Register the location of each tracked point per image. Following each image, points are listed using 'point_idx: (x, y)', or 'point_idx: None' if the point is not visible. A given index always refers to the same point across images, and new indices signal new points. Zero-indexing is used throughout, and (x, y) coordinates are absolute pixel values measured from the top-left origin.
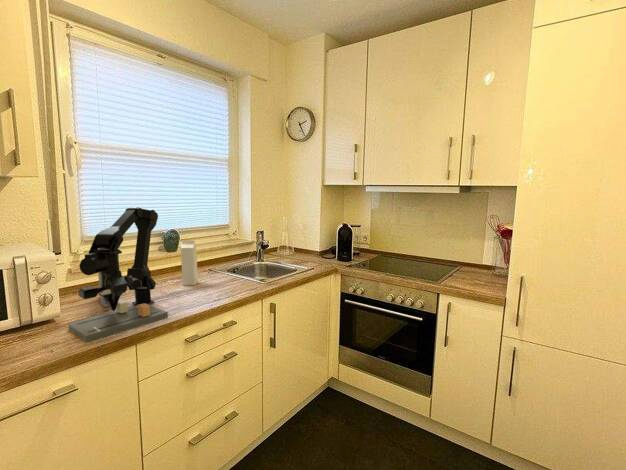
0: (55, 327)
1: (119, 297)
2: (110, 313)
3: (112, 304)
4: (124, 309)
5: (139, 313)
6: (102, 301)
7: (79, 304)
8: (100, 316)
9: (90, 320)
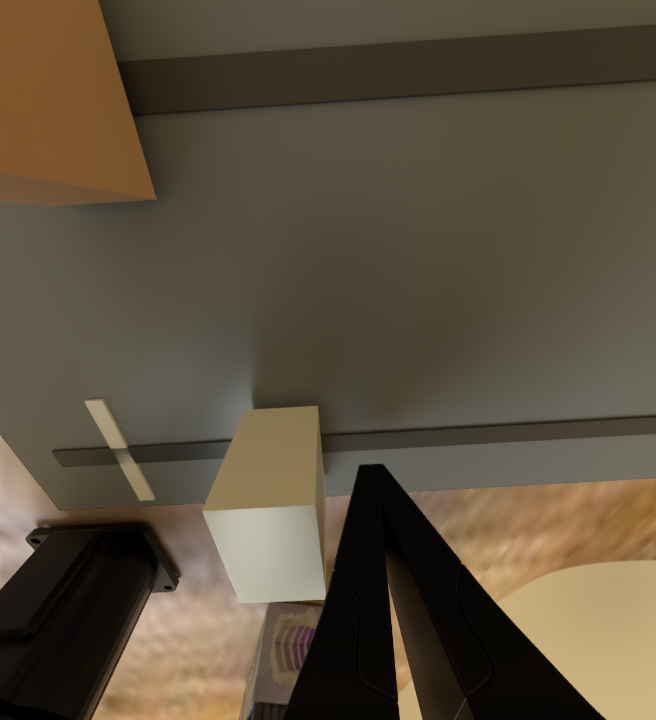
0: (618, 514)
1: (304, 678)
2: None
3: (415, 538)
4: (274, 429)
5: (118, 125)
6: None
7: None
8: (457, 467)
9: (565, 430)
